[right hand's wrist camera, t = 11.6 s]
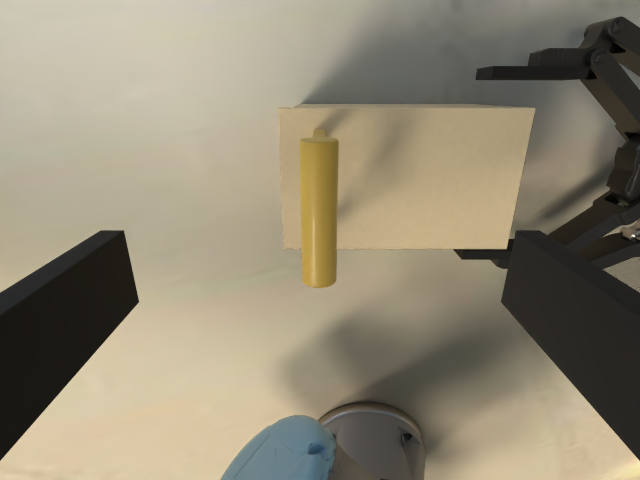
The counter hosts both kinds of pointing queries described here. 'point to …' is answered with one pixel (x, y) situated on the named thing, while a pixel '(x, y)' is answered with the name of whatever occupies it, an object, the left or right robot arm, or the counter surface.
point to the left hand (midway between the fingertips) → (468, 168)
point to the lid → (398, 179)
